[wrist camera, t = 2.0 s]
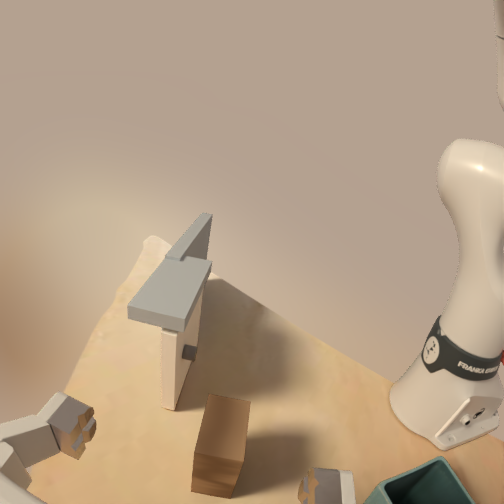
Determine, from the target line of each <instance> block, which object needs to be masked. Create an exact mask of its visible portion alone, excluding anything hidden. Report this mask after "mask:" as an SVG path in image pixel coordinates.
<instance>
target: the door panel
mask: <svg viewBox="0 0 504 504" xmlns="http://www.w3.org/2000/svg"><path fill="white" fill-rule="evenodd" d="M203 289H204V288H203ZM202 297H203V290H202V292H201V295H200V297H199V299H198V301H197V304H196V306H195V308H194V310H193V313H192V315H191V317H190V319H189V322H188V324H187V326H186V329H185V331H184V332H179V331H175V330H171V329H167V328H163V330H162V332H161V406H162V408H166V409H170V410H174V409H175V407H176V404H177V401H178V398H179V395H180V392H181V389H182V386H183V383H184V381H185V378H186V375H187V372H188V369H189V366H190V363H191V361H194V360H195V357H196V353H197V347H196V346H197V343H198V334H199V324H200V315H201V306H202Z"/></svg>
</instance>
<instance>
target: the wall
mask: <svg viewBox="0 0 504 504" xmlns="http://www.w3.org/2000/svg"><path fill="white" fill-rule="evenodd" d="M211 222H212V214H207V213H202V214H201V215H200V216H199V217H198V218H197V219H196V220H195V222H194V223H193V224H192V225H191V226H190V227H189V229H188V230H187V231H186V232H185V233H184V234H183V236H182V237H181V238H180V239H179V240H178V241H177V242H176V244H175V245H174V246H173V247H172V248H171V249H170V251H169V252H168V253H167V254H166V255H165V259H164V260H163V262H162V263H161V264H160V265H159V266H158V268H157V269H156V270H155V271H154V273H153V274H152V275H151V276H150V277H149V279H148V280H147V281H146V282H145V284H144V285H143V286H142V287H141V289H140V290H139V291H138V293H137V294H136V295H135V296H134V298H133V299H132V300H131V301H130V303H129V304H128V319H131V320H135V321H139V322H143V323H147V324H151V325H155V326H159V327H162V330H163V328H167V329H171V330H175V331H179V332H184V331H185V329H186V326H187V324H188V322H189V319H190V317H191V315H192V313H193V310H194V308H195V306H196V304H197V301H198V299H199V297H200V295H201V292H202V290H203V288H204V286H205V284H206V281H207V279H208V277H209V275H210V272H211V266H212V261H209V260H206V259H207V251H208V243H209V236H210V229H211Z"/></svg>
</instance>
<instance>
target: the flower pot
mask: <svg viewBox="0 0 504 504" xmlns="http://www.w3.org/2000/svg"><path fill="white" fill-rule="evenodd" d="M363 504H475V502H474V501H473V499H472V498H471V496H470V495H469V493H468V492H467V490H466V489H465V487H464V486H463V484H462V483H461V481H460V480H459V478H458V477H457V475H456V474H455V472H454V471H453V470H452V468H451V467H450V465H449V464H448V462H447V461H446V460H445V458H444V457H442V456H438V457H436V458H434V459H432V460H430V461H428V462H426V463H424V464H422V465H420V466H418V467H416V468H413V469H412V470H409V471H407V472H404V473H402V474H399V475H397V476H395V477H392V478H389V479H387V480H384V481H382V482H380V483H379V484H378V485H377V487H376V488H375V489H374V491H373V492H372V493H371V494H370V496H369V497H368V498H367V499H366V501H365V502H364V503H363Z"/></svg>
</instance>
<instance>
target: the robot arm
mask: <svg viewBox="0 0 504 504" xmlns="http://www.w3.org/2000/svg"><path fill="white" fill-rule="evenodd" d="M494 18H495V32H496V47H497V73H498V74H497V77H498V78H497V84H498V85H497V94H498V98H499V102H500V104H501V107H502V108H503V111H504V0H494ZM437 188H438V192H439V195H440V198H441V200H442V202H443V204H444V205H445V207H446V209H447V210H448V212H449V214H450V216H451V218H452V220H453V223H454V225H455V228H456V232H457V236H458V242H459V266H458V271H457V275H456V278H455V282H454V285H453V288H452V291H451V294H450V296H449V299H448V302H447V304H446V306H445V309H444V311H443V313H442V315H440V316H439V317H438V318H437V320H436V322H435V323H434V325H433V327H432V329H431V331H430V333H429V335H428V337H427V340H426V342H425V345H424V348H423V350H422V351H421V353H420V354H419V356H418V357H417V358H416V360H415V361H414V362H413V364H412V365H411V366H410V367H409V368H408V370H407V371H406V372H405V373H404V375H403V376H402V377H401V378H400V379H399V380H398V381H396V382H395V383H394V384H393V386H392V388H391V390H390V404H391V407H392V409H393V411H394V413H395V415H396V416H397V417H398V419H399V420H400V421H401V422H402V423H403V424H404V425H405V426H406V427H407V428H409V429H410V430H411V431H413V432H415V433H417V434H418V435H421V436H423V437H425V438H427V439H428V440H430V441H431V442H432V443H433V444H434V445H435V446H437V447H438V448H439V449H441V450H444V451H445V450H449V449H452V448H454V447H457V446H459V445H462V444H464V443H467V442H469V441H471V440H474V439H476V438H478V437H481V436H483V435H485V434H487V433H490V432H492V431H494V430H495V429H496V428H497V427H498V426H499V415H498V412H497V408H498V407H499V406H500V404H501V402H502V400H503V396H504V390H503V387H502V384H501V381H500V378H499V375H498V372H497V371H498V368H499V364H500V361H501V362H502V363H503V365H504V350H503V349H504V253H503V246H504V147H503V146H500V145H497V144H494V143H491V142H488V141H481V140H472V139H457V140H455V141H454V142H452V143H451V144H450V145H449V146H448V147H447V148H446V149H445V151H444V152H443V154H442V156H441V158H440V161H439V164H438V168H437ZM93 415H94V410H93V407H90V406H88V405H86V404H84V403H82V402H80V401H78V400H76V399H74V398H72V397H70V396H68V395H66V394H64V393H62V392H60V391H59V392H57V393H55V394H54V395H53V397H52V398H51V399H50V400H49V401H48V403H47V404H46V405H45V406H44V407H43V408H42V409H41V411H40V412H39V413H38V414H37V416H35V415H30V416H27V417H23V418H20V419H16V420H13V421H9V422H5V423H2V424H0V504H47V503H46V502H44V501H42V500H41V499H39V498H38V497H36V496H35V495H33V494H31V493H30V492H28V491H27V490H26V489H27V488H28V486H29V485H30V483H31V481H32V479H31V477H30V475H29V473H28V472H27V471H26V469H25V468H27V467H29V466H31V465H34V464H36V463H38V462H40V461H42V460H45V459H47V458H49V457H51V456H53V455H55V454H57V453H59V452H60V451H61V452H63V453H65V454H67V455H69V456H71V457H73V458H75V459H77V460H79V458H80V457H81V455H82V454H83V452H84V451H85V449H86V447H85V443H86V442H89V441H91V439H92V438H93V436H94V434H95V431H96V420H95V419H94V418H93ZM298 499H299V501H300V502H301V504H356V498H355V489H354V481H353V473H352V472H351V471H350V470H337V469H322V468H311V469H310V470H309V471H308V476H307V477H305V478H303V480H302V481H301V484H300V486H299V491H298Z"/></svg>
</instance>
